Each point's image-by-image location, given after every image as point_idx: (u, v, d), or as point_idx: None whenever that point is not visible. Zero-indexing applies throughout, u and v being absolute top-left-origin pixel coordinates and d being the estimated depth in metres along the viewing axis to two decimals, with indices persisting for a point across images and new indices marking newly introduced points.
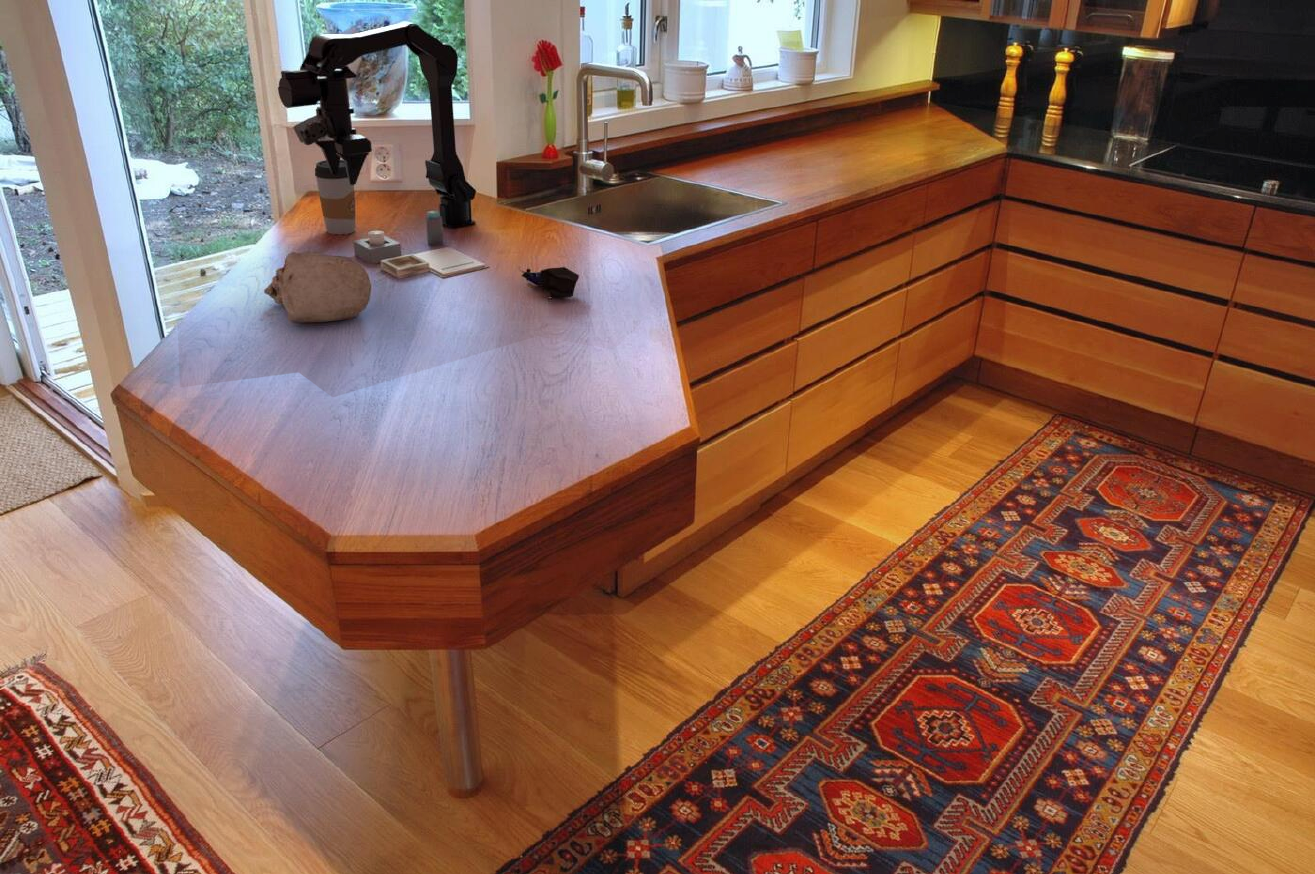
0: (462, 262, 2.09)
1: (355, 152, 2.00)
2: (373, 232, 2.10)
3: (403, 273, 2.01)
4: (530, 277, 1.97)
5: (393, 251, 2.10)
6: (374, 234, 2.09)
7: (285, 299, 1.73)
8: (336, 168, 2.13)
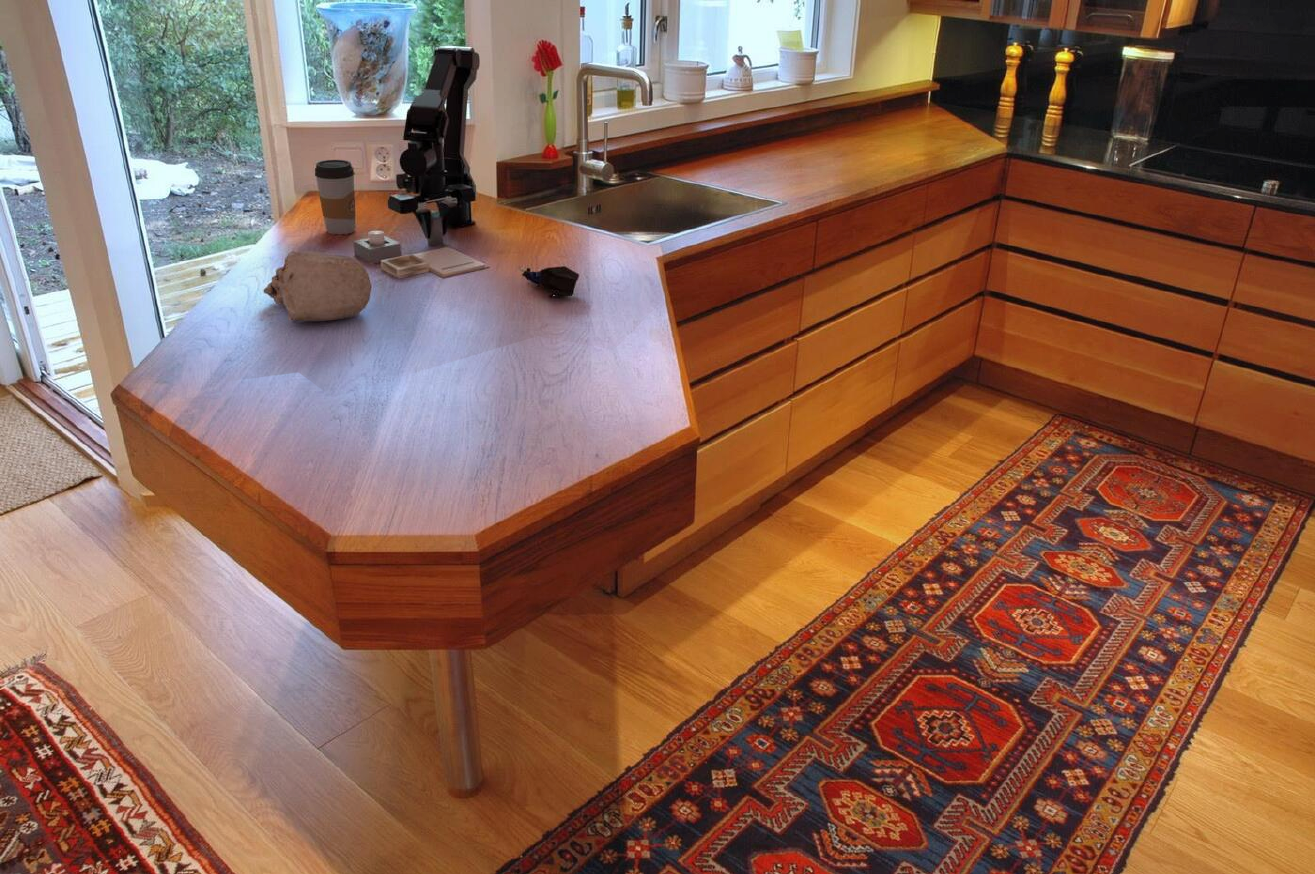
0: (462, 262, 2.09)
1: (392, 209, 2.11)
2: (373, 232, 2.10)
3: (403, 273, 2.01)
4: (530, 276, 1.97)
5: (393, 251, 2.10)
6: (374, 234, 2.09)
7: (286, 298, 1.74)
8: None
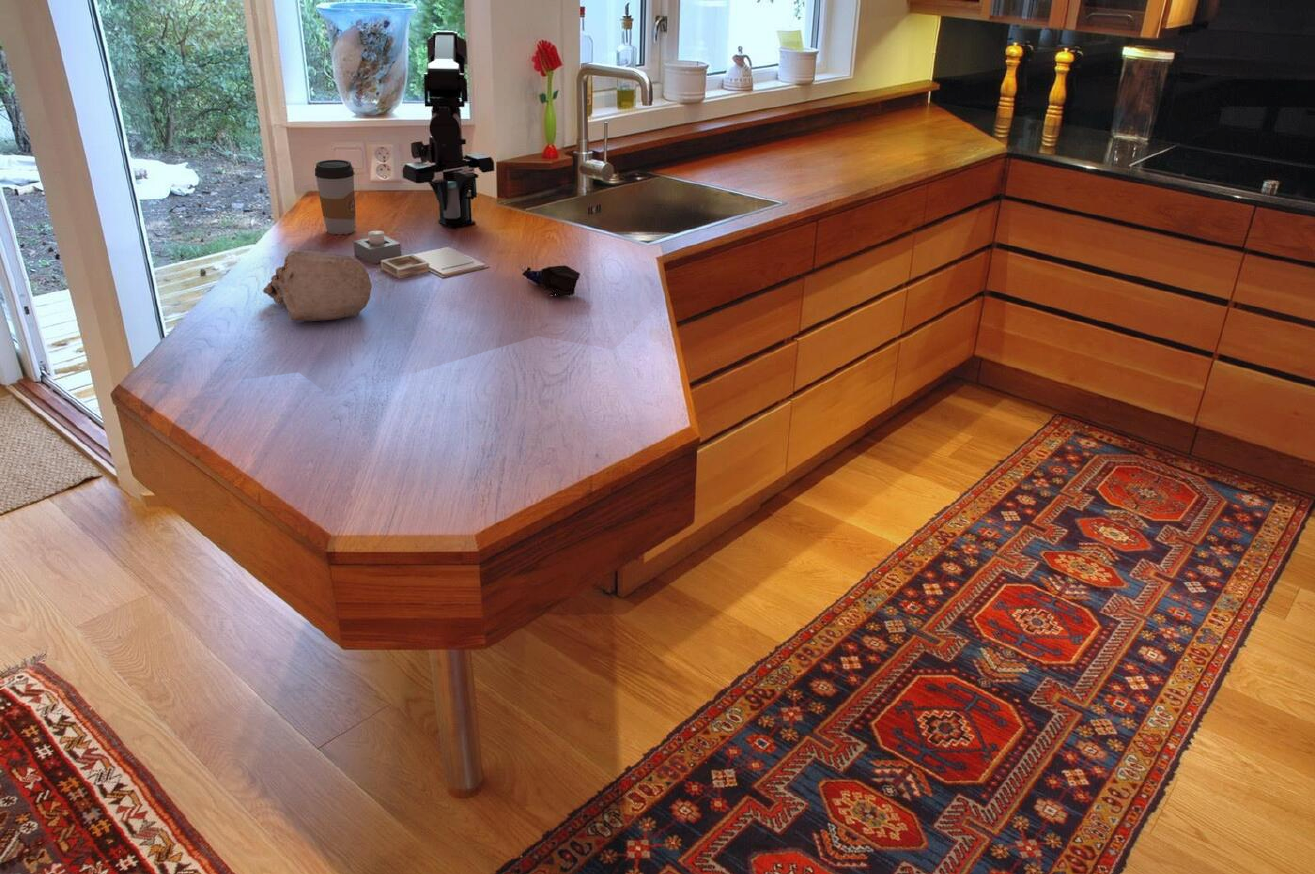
0: (462, 262, 2.09)
1: (407, 178, 2.01)
2: (373, 232, 2.10)
3: (403, 273, 2.01)
4: (531, 276, 1.98)
5: (393, 251, 2.10)
6: (374, 234, 2.09)
7: (286, 297, 1.74)
8: None
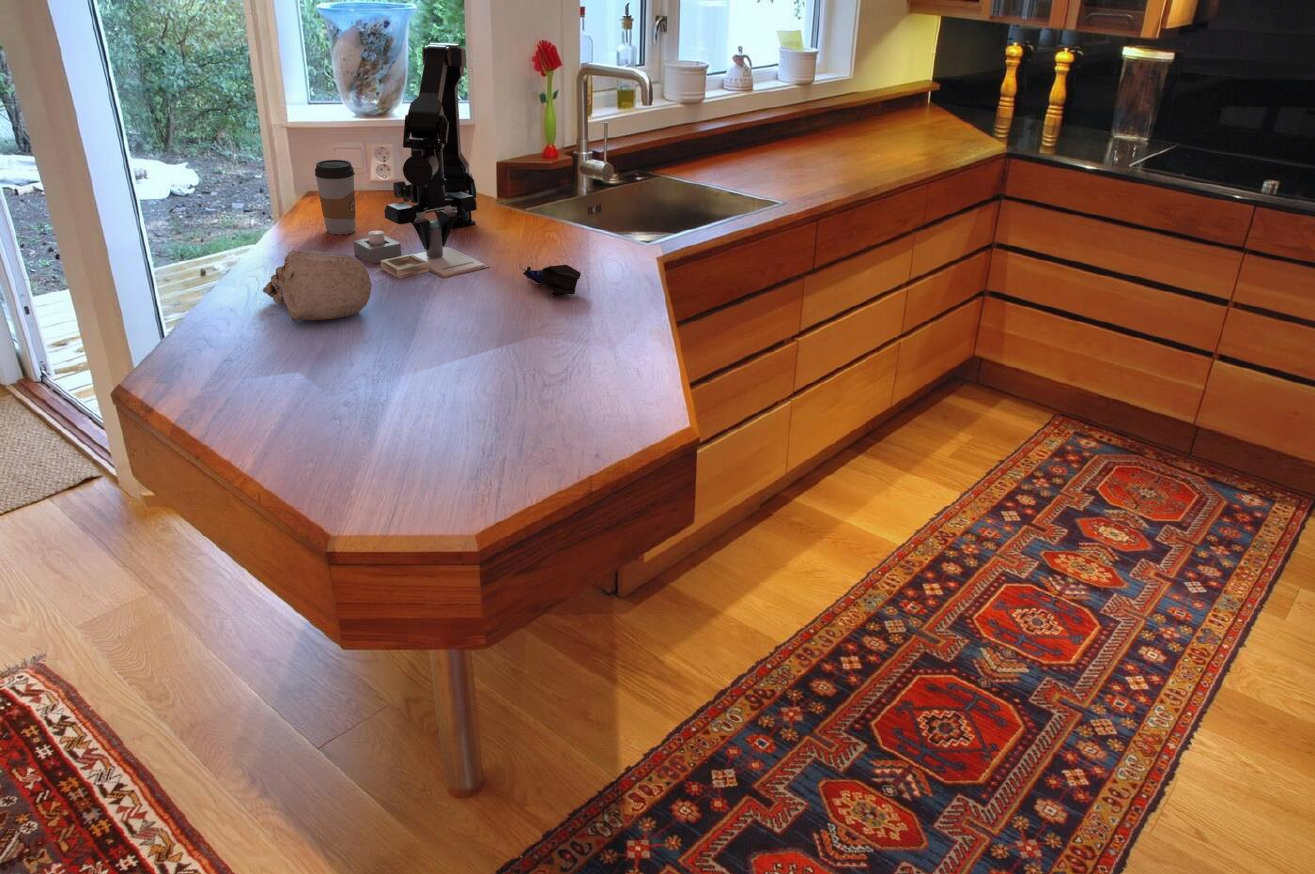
0: (462, 262, 2.09)
1: (389, 219, 2.01)
2: (373, 232, 2.10)
3: (403, 273, 2.01)
4: (531, 275, 1.98)
5: (393, 251, 2.10)
6: (374, 234, 2.09)
7: (287, 297, 1.74)
8: (442, 241, 2.10)
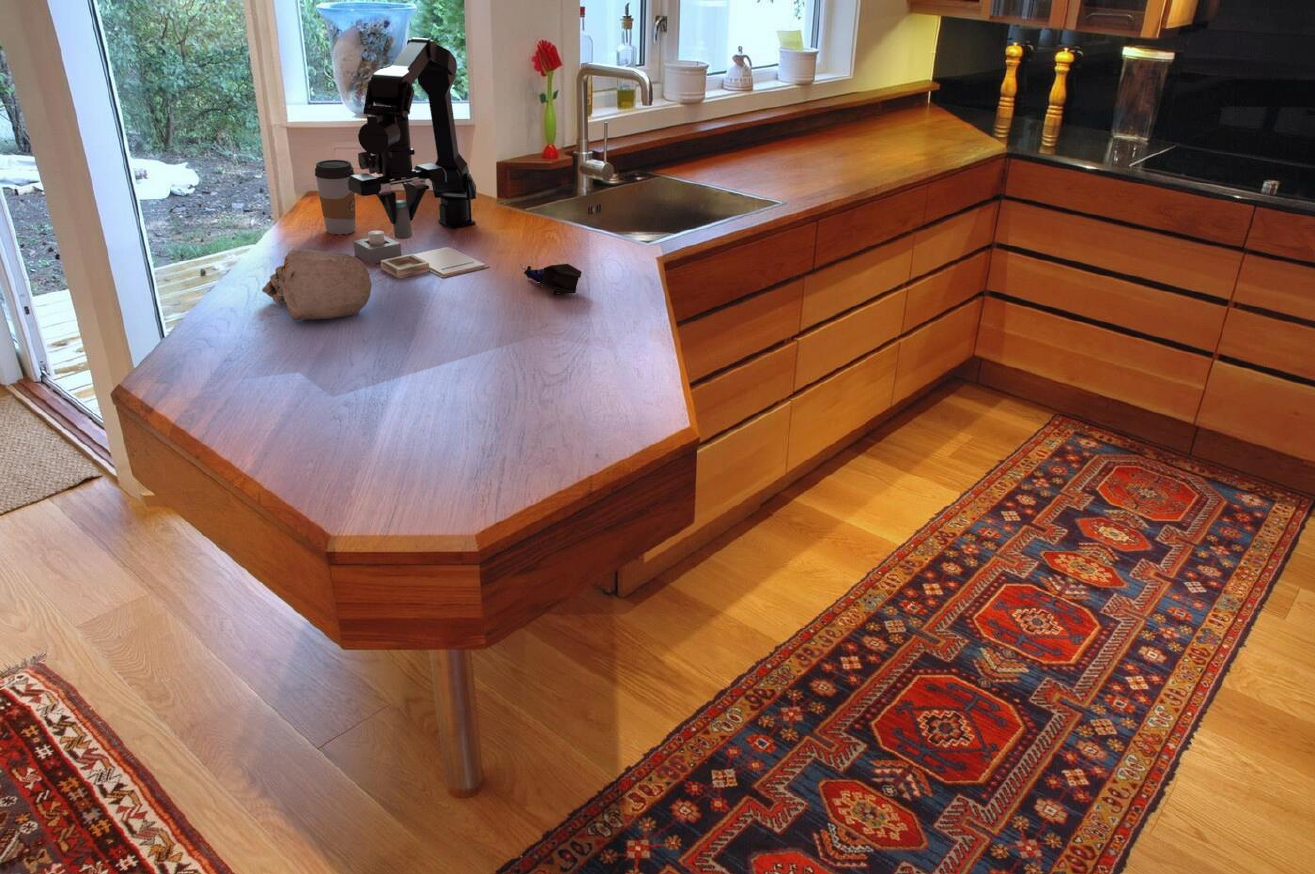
0: (462, 262, 2.09)
1: (353, 190, 1.91)
2: (373, 232, 2.10)
3: (403, 273, 2.01)
4: (532, 274, 1.98)
5: (393, 251, 2.10)
6: (374, 234, 2.09)
7: (287, 296, 1.74)
8: (410, 214, 2.00)
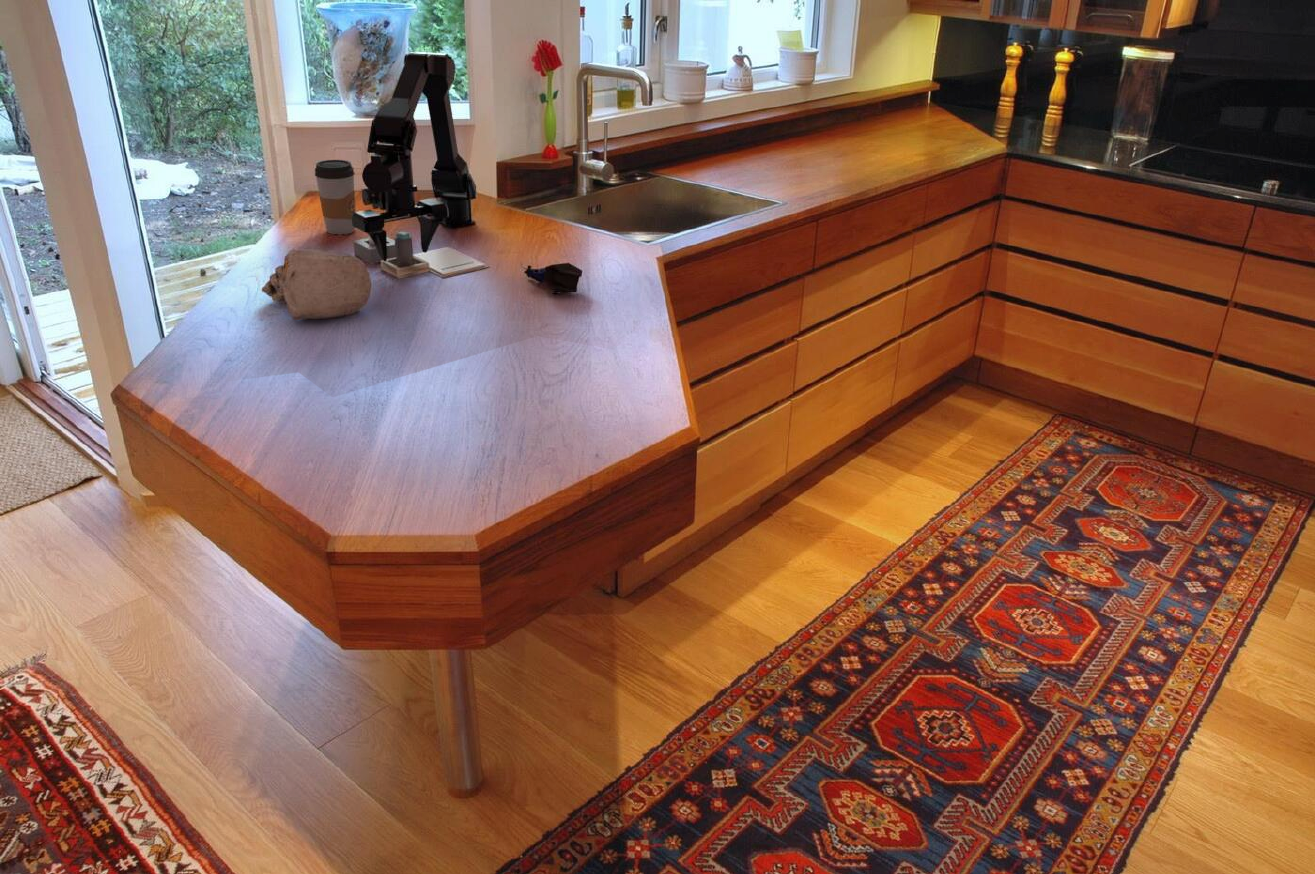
0: (462, 262, 2.09)
1: (357, 227, 1.95)
2: None
3: (403, 273, 2.01)
4: (533, 274, 1.99)
5: (393, 251, 2.10)
6: None
7: (288, 296, 1.74)
8: (424, 246, 2.05)
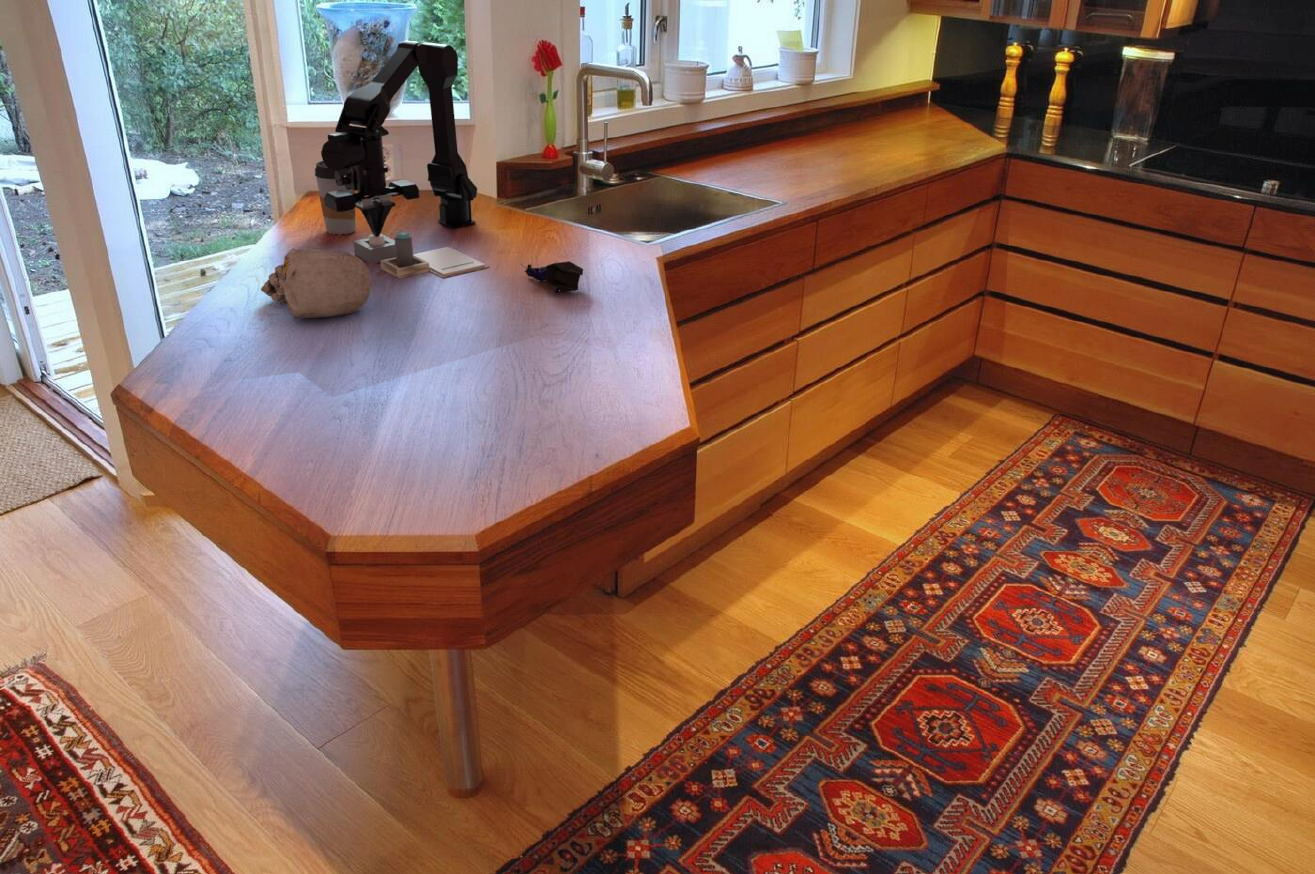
0: (462, 262, 2.09)
1: (329, 206, 2.01)
2: (373, 235, 2.10)
3: (403, 273, 2.01)
4: (534, 272, 1.99)
5: (393, 251, 2.10)
6: (374, 237, 2.09)
7: (288, 295, 1.75)
8: None
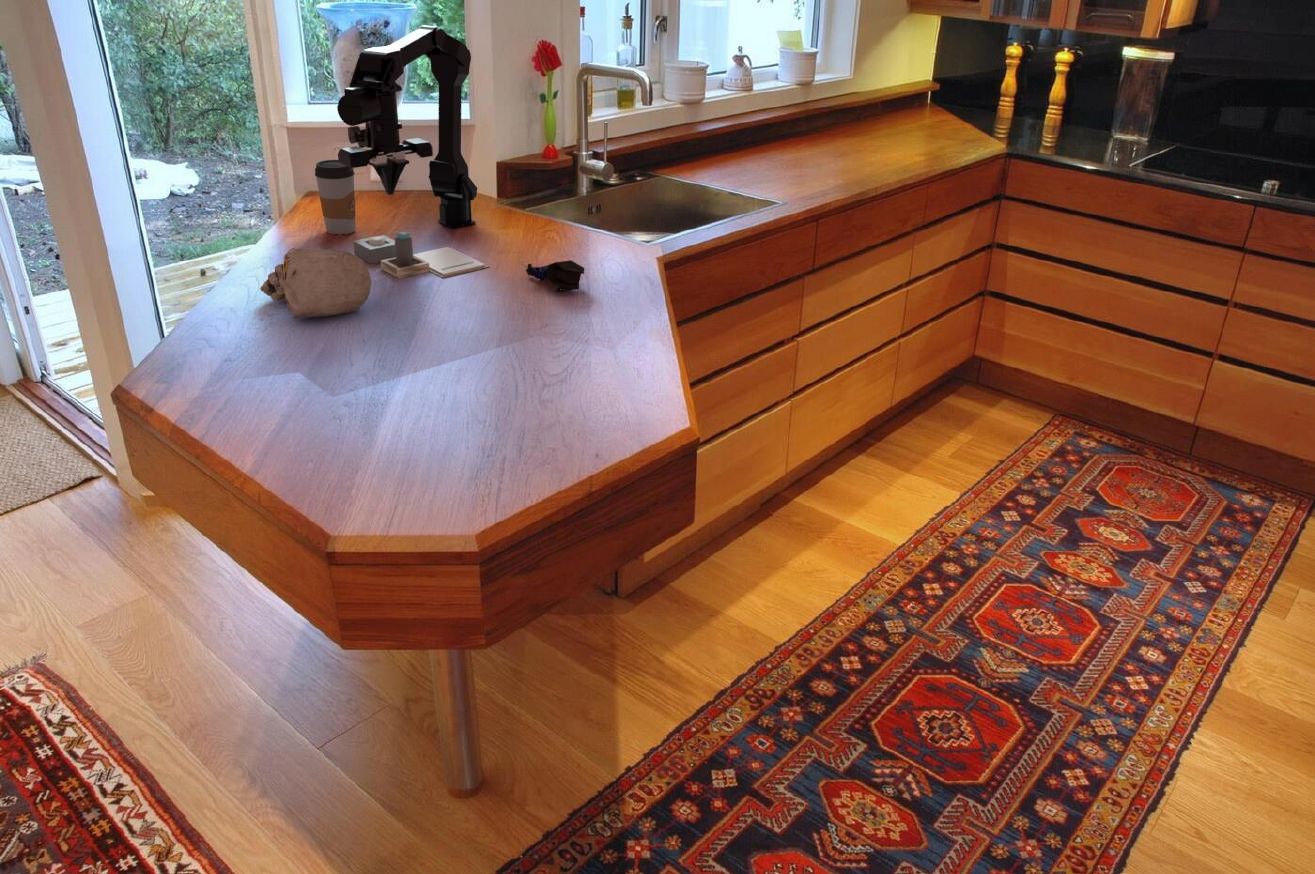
0: (462, 262, 2.09)
1: (343, 162, 1.99)
2: (373, 238, 2.10)
3: (403, 273, 2.01)
4: (534, 272, 2.00)
5: (393, 251, 2.10)
6: (375, 240, 2.09)
7: (289, 294, 1.75)
8: None
